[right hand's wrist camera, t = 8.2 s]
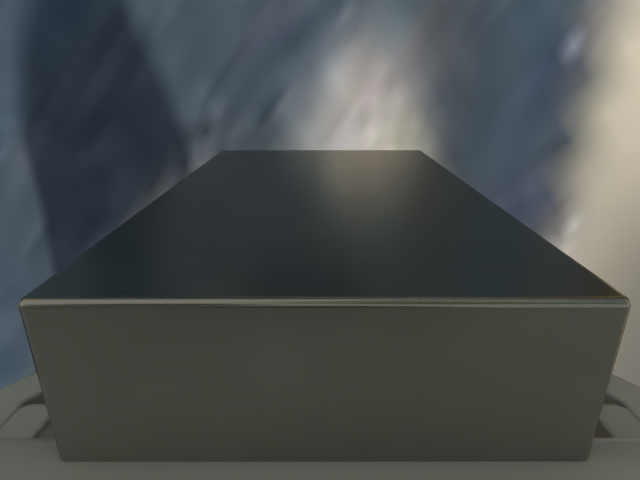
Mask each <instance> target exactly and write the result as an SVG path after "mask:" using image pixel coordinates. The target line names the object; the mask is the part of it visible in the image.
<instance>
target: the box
mask: <svg viewBox="0 0 640 480" xmlns="http://www.w3.org/2000/svg"><path fill="white" fill-rule="evenodd" d="M630 307H631V306H630V301H629V299H628V298H627V297H626V296H624V295H623V294H622V293H620V292H619V291H617V290H616V289H615V288H613V287H612V286H610V285H609V284H607V283H606V282H605V281H603V280H602V279H600V278H599V277H598V276H596V275H595V274H593V273H592V272H591V271H589V270H588V269H586V268H585V267H584V266H582V265H581V264H579V263H578V262H576V261H575V260H574V259H572V258H571V257H569V256H568V255H567V254H565V253H564V252H562V251H561V250H560V249H558V248H557V247H555V246H554V245H553V244H551V243H550V242H548V241H547V240H545V239H544V238H543V237H541V236H540V235H538V234H537V233H536V232H534V231H533V230H531V229H530V228H529V227H527V226H526V225H524V224H523V223H522V222H520V221H519V220H517V219H516V218H514V217H513V216H512V215H510V214H509V213H507V212H506V211H505V210H503V209H502V208H500V207H499V206H498V205H496V204H495V203H493V202H492V201H491V200H489V199H488V198H486V197H485V196H483V195H482V194H481V193H479V192H478V191H476V190H475V189H474V188H472V187H471V186H469V185H468V184H467V183H465V182H464V181H462V180H461V179H460V178H458V177H457V176H455V175H454V174H452V173H451V172H450V171H448V170H447V169H445V168H444V167H443V166H441V165H440V164H438V163H437V162H436V161H434V160H433V159H431V158H430V157H429V156H427V155H426V154H424V153H423V152H421V151H419V150H245V151H221V152H220V153H219V154H217V155H216V156H215V157H213V158H212V159H210V160H209V161H208V162H206V163H205V164H204V165H202V166H201V167H200V168H198V169H197V170H196V171H194V172H193V173H191V174H190V175H189V176H187V177H186V178H185V179H183V180H182V181H181V182H179V183H178V184H177V185H175V186H174V187H172V188H171V189H170V190H168V191H167V192H166V193H164V194H163V195H162V196H160V197H159V198H157V199H156V200H155V201H153V202H152V203H151V204H149V205H148V206H147V207H145V208H144V209H143V210H141V211H140V212H138V213H137V214H136V215H134V216H133V217H132V218H130V219H129V220H128V221H126V222H125V223H124V224H122V225H121V226H119V227H118V228H117V229H115V230H114V231H113V232H111V233H110V234H109V235H107V236H106V237H105V238H103V239H102V240H100V241H99V242H98V243H96V244H95V245H94V246H92V247H91V248H90V249H88V250H87V251H86V252H84V253H83V254H81V255H80V256H79V257H77V258H76V259H75V260H73V261H72V262H71V263H69V264H68V265H66V266H65V267H64V268H62V269H61V270H60V271H58V272H57V273H56V274H54V275H53V276H52V277H50V278H49V279H47V280H46V281H45V282H43V283H42V284H41V285H39V286H38V287H37V288H35V289H34V290H33V291H31V292H30V293H28V294H27V295H26V296H24V297H23V298H22V299H21V301H20V303H19V309H20V313H21V317H22V320H23V324H24V328H25V331H26V335H27V339H28V342H29V346H30V349H31V353H32V357H33V360H34V364H35V368H36V371H37V375H38V379H39V382H40V386H41V390H42V393H43V397H44V401H45V404H46V408H47V412H48V415H49V419H50V422H51V426H52V430H53V433H54V437H55V441H56V444H57V448H58V452H59V455H60V459H61V460H62V461H64V462H582V461H586V460H588V456H589V453H590V449H591V446H592V442H593V439H594V435H595V432H596V428H597V424H598V421H599V417H600V414H601V410H602V407H603V403H604V400H605V396H606V392H607V389H608V385H609V382H610V378H611V375H612V371H613V368H614V364H615V361H616V357H617V353H618V350H619V346H620V343H621V339H622V336H623V332H624V328H625V325H626V321H627V318H628V314H629V311H630Z"/></svg>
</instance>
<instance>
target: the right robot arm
mask: <svg viewBox="0 0 640 480" xmlns="http://www.w3.org/2000/svg"><path fill="white" fill-rule="evenodd" d="M0 480H640V387H639V386H637V385H634V384H632V383H630V382H628V381H626V380H624V379H621V378H619V377H617V376H615V375H613V374H612V375H611V378H610V382H609V385H608V389H607V392H606V396H605V400H604V403H603V407H602V410H601V414H600V417H599V421H598V424H597V428H596V432H595V435H594V439H593V442H592V446H591V449H590V453H589V456H588V460H586V461H582V462H64V461H62V460H61V459H60V455H59V452H58V448H57V444H56V441H55V437H54V433H53V430H52V426H51V422H50V419H49V415H48V412H47V408H46V404H45V401H44V397H43V393H42V390H41V386H40V382H39V379H38V375H37V373H35V374H32V375H30V376H28V377H26V378H24V379H22V380H19V381H17V382H15V383H13V384H11V385H9V386H7V387H4V388H2V389H0Z"/></svg>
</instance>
